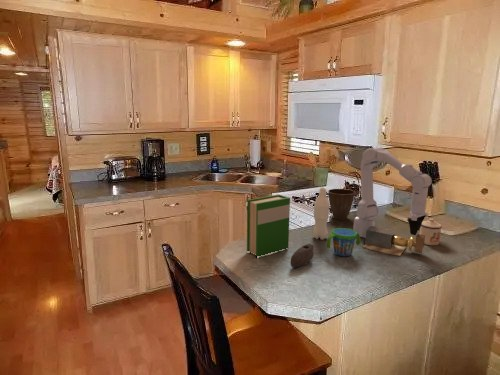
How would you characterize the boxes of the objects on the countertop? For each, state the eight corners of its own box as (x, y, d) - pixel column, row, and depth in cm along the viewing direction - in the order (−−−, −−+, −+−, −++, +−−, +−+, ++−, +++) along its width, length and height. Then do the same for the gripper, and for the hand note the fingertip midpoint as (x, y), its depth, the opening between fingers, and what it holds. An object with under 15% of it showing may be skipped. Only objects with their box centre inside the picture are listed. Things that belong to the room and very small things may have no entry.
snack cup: (353, 247, 157) (354, 226, 155) (365, 257, 147) (367, 234, 145) (321, 250, 154) (322, 228, 152) (331, 260, 144) (332, 237, 142)
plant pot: (321, 216, 204) (322, 190, 201) (340, 213, 211) (342, 187, 208) (338, 223, 191) (340, 195, 188) (358, 219, 198) (360, 192, 195)
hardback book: (257, 258, 145) (257, 203, 140) (246, 253, 151) (247, 199, 145) (288, 249, 155) (290, 197, 150) (277, 244, 161) (278, 194, 156)
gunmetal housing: (365, 244, 160) (366, 229, 159) (369, 239, 166) (371, 225, 164) (390, 249, 154) (391, 234, 153) (393, 244, 160) (395, 230, 158)
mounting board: (362, 247, 158) (362, 246, 157) (371, 238, 169) (371, 237, 169) (400, 256, 149) (400, 254, 149) (406, 246, 160) (407, 245, 160)
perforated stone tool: (296, 272, 133) (296, 255, 132) (285, 268, 137) (285, 251, 135) (316, 260, 144) (317, 244, 143) (306, 256, 148) (306, 241, 146)
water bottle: (311, 239, 167) (313, 189, 162) (314, 234, 174) (316, 186, 168) (326, 241, 165) (329, 190, 159) (328, 236, 171) (331, 187, 166)
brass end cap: (384, 247, 156) (386, 231, 154) (388, 243, 161) (389, 227, 159) (421, 255, 147) (423, 238, 146) (423, 250, 152) (425, 234, 151)
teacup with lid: (432, 247, 159) (435, 223, 156) (414, 241, 166) (416, 217, 164) (446, 242, 165) (450, 219, 163) (428, 236, 173) (431, 214, 170)
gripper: (426, 207, 141) (422, 239, 144) (431, 200, 152) (427, 229, 155) (407, 204, 144) (404, 235, 148) (414, 197, 156) (410, 226, 159)
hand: (415, 232), depth 152 cm, fingers open, 7 cm apart
